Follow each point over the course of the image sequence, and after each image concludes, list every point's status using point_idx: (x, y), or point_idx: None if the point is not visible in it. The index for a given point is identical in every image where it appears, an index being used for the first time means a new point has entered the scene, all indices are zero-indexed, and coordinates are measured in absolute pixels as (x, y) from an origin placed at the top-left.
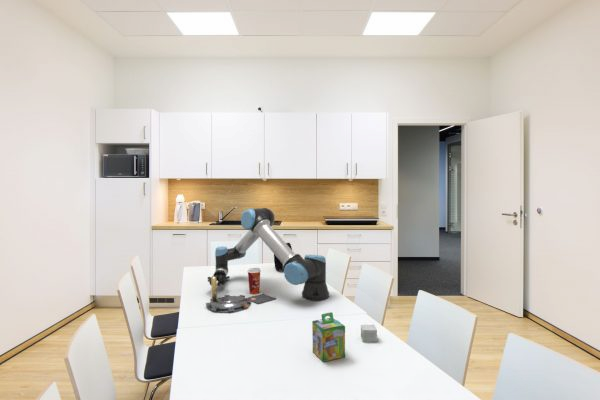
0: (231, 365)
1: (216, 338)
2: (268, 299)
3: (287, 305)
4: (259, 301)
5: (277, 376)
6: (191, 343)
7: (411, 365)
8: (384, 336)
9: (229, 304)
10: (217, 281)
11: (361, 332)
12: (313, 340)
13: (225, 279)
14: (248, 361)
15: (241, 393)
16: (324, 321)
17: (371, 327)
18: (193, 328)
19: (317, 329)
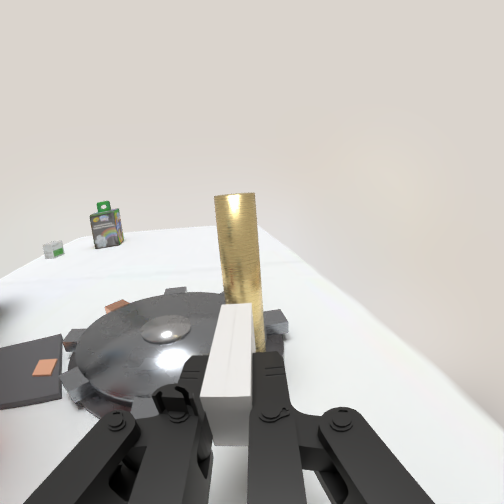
0: (208, 233)
1: None
2: (11, 349)
3: (16, 317)
4: (45, 344)
5: (171, 232)
6: (264, 243)
7: (73, 243)
8: (39, 258)
9: (172, 308)
10: (210, 363)
11: (57, 249)
12: (117, 230)
13: (50, 489)
14: (189, 236)
15: (204, 226)
16: (108, 208)
17: (51, 242)
18: (277, 260)
19: (117, 214)
